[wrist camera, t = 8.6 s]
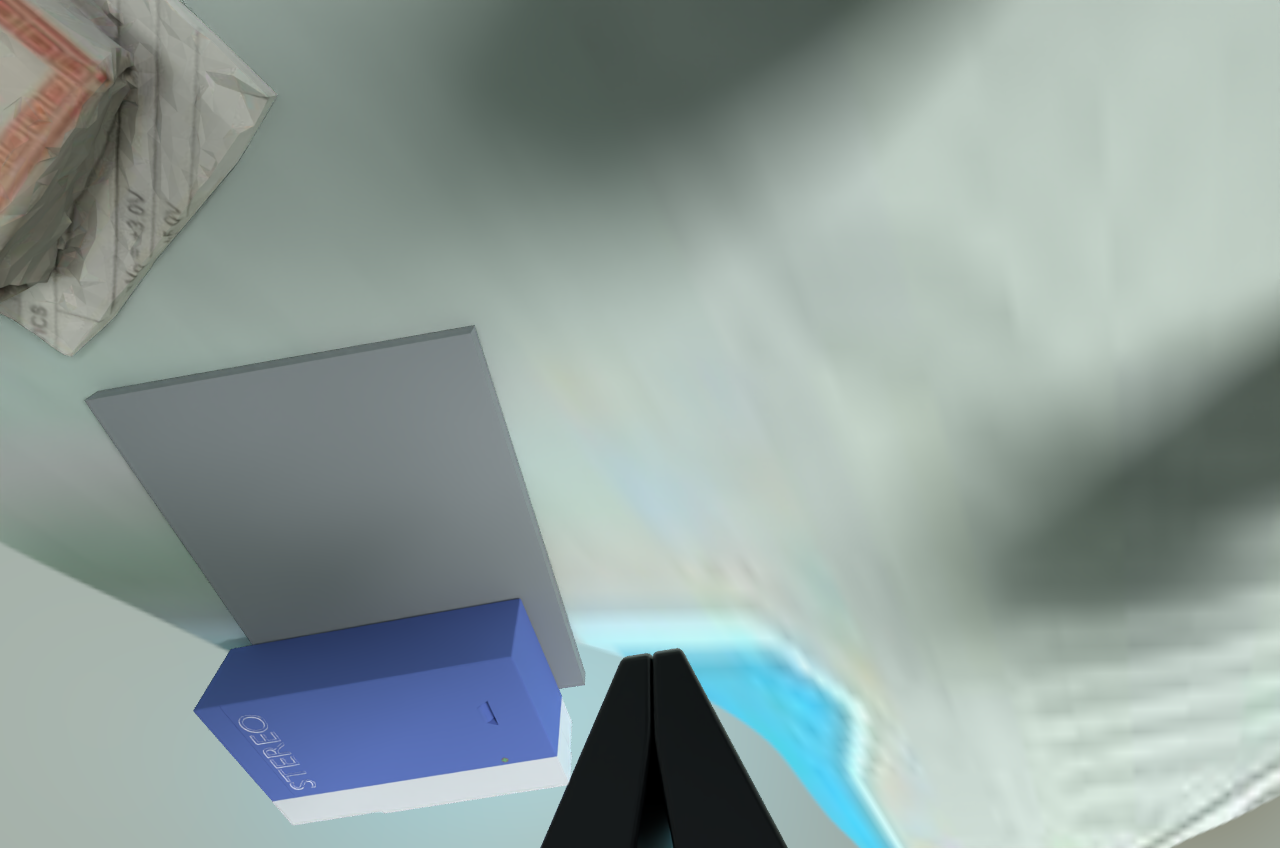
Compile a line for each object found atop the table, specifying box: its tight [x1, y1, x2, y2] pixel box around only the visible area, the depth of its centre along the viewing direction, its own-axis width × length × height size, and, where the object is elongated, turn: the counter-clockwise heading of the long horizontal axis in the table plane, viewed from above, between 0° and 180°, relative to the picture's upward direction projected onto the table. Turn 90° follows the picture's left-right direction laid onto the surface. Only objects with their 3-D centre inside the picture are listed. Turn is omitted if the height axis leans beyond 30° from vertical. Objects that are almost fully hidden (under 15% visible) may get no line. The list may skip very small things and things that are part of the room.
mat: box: [85, 325, 585, 689], centre depth 24 cm, size 12×16×1 cm
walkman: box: [194, 598, 572, 825], centre depth 26 cm, size 8×3×12 cm
